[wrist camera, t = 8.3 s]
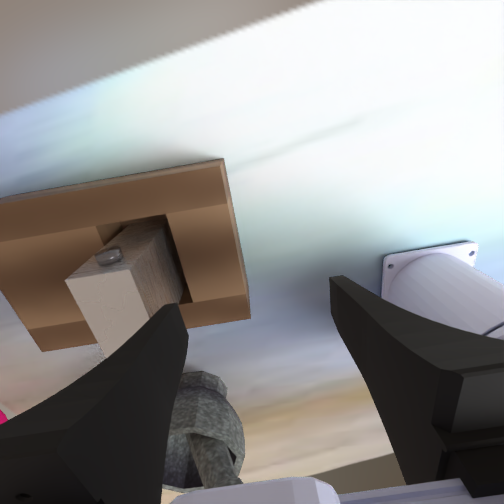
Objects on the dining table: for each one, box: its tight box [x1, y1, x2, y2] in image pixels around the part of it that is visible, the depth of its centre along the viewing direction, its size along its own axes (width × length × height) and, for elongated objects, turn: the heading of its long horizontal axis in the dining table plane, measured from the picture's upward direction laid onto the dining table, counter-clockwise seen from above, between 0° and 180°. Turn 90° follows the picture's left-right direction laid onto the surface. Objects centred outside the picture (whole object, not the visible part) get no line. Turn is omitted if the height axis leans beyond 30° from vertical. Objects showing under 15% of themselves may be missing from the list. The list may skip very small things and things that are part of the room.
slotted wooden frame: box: [0, 158, 251, 352], centre depth 19 cm, size 11×16×4 cm
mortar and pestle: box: [162, 371, 245, 493], centre depth 23 cm, size 11×9×12 cm
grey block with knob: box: [65, 218, 186, 358], centre depth 17 cm, size 6×3×8 cm, turn 9°
